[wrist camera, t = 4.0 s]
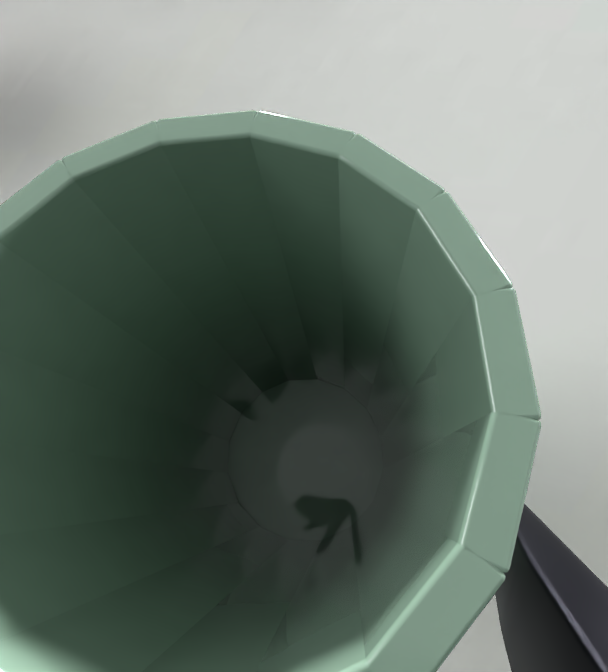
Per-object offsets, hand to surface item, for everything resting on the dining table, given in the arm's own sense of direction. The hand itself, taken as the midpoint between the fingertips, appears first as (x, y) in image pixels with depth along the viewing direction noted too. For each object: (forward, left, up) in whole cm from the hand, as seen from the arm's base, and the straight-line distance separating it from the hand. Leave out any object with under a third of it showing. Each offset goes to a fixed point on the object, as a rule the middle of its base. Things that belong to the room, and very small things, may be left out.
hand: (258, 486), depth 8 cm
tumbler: (+1, -1, -9) cm, 9 cm away
